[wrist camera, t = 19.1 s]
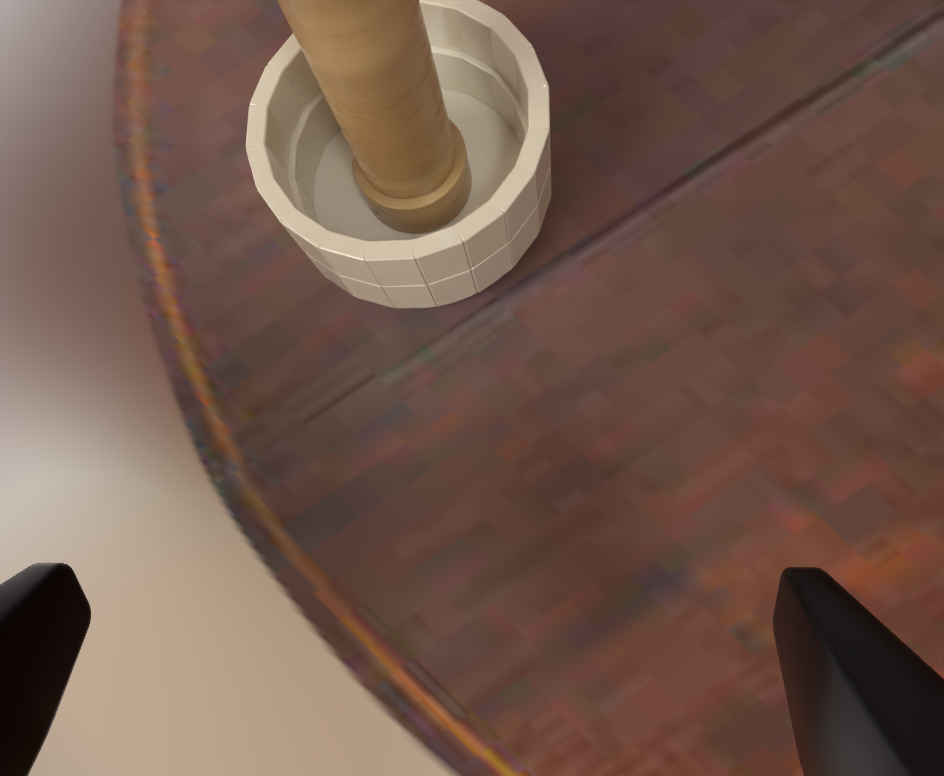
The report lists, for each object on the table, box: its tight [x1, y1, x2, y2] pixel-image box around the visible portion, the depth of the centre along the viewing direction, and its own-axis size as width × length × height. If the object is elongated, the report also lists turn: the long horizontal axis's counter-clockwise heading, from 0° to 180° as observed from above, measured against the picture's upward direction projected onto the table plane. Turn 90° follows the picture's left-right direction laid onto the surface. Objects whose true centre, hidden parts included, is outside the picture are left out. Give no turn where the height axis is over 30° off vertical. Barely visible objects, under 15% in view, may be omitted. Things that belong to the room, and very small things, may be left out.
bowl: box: [246, 0, 552, 308], centre depth 24 cm, size 9×9×4 cm
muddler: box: [277, 0, 472, 234], centre depth 19 cm, size 4×4×14 cm
